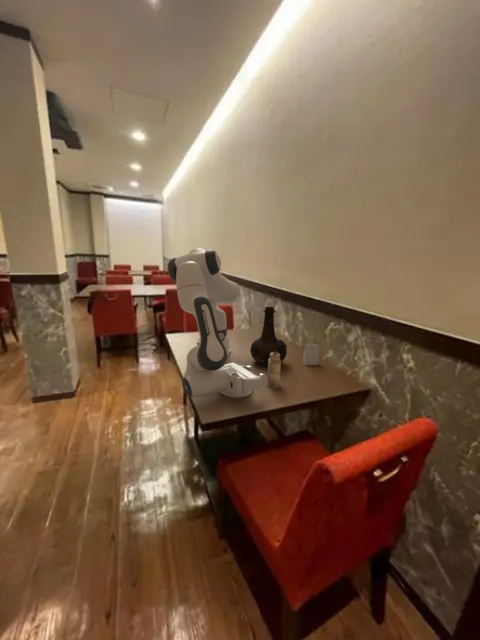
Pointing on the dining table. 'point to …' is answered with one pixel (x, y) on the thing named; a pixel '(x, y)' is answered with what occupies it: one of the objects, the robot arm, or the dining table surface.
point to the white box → (311, 354)
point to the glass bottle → (268, 341)
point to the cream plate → (236, 395)
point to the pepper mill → (274, 370)
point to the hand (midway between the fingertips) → (257, 371)
